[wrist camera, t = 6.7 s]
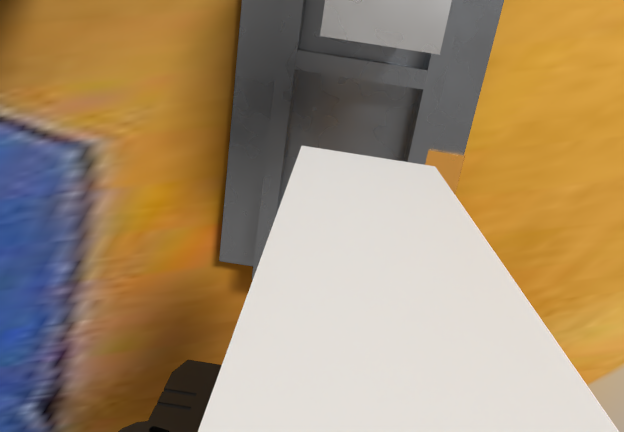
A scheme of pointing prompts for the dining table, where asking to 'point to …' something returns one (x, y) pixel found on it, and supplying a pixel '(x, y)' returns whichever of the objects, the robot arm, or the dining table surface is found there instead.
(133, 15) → the dining table surface
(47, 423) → the dining table surface
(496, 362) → the block
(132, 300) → the dining table surface
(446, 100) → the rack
